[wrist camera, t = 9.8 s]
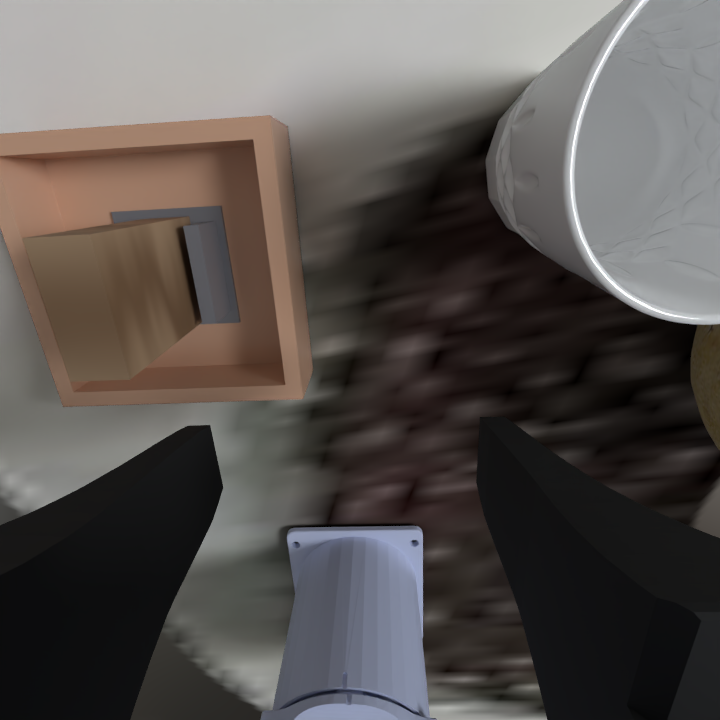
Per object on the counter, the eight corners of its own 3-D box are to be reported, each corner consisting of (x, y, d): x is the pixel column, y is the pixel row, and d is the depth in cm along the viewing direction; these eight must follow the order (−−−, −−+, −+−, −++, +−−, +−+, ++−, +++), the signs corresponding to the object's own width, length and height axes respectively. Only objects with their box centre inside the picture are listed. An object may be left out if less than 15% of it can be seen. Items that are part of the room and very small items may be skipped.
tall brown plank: (208, 317, 20) (130, 379, 14) (167, 318, 21) (70, 381, 14) (189, 216, 19) (90, 234, 12) (144, 218, 19) (22, 238, 12)
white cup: (435, 205, 19) (491, 227, 10) (544, 6, 16) (768, -228, 7) (582, 288, 20) (757, 378, 11) (708, 115, 17) (1087, 38, 8)
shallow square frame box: (313, 370, 22) (303, 399, 19) (104, 377, 23) (63, 406, 20) (287, 126, 18) (270, 115, 15) (33, 143, 19) (-32, 135, 16)
